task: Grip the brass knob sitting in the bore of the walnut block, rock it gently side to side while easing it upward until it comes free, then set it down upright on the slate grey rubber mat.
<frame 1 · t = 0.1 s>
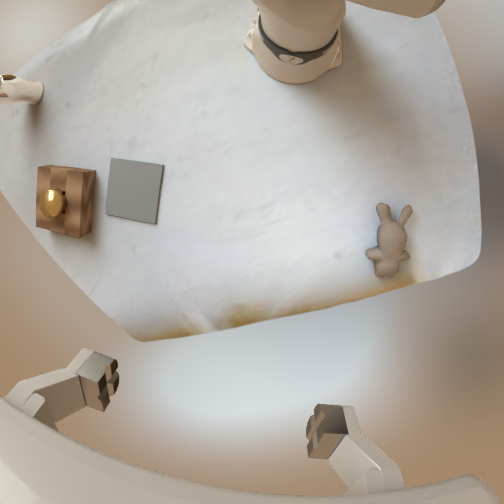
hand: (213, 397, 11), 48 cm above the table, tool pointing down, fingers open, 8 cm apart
bunny figurine: (385, 237, 57), on the table
brass knob: (59, 200, 54), in the walnut block
beer glass: (36, 93, 50), on the table
rubber mat: (133, 190, 57), on the table
walnut block: (69, 197, 58), on the table
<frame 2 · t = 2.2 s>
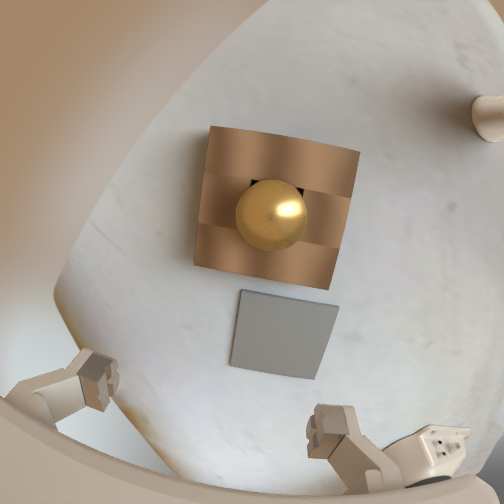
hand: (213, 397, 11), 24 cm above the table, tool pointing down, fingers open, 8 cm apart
brass knob: (273, 208, 29), in the walnut block
beer glass: (486, 119, 25), on the table
rubber mat: (281, 338, 38), on the table
walnut block: (275, 202, 32), on the table
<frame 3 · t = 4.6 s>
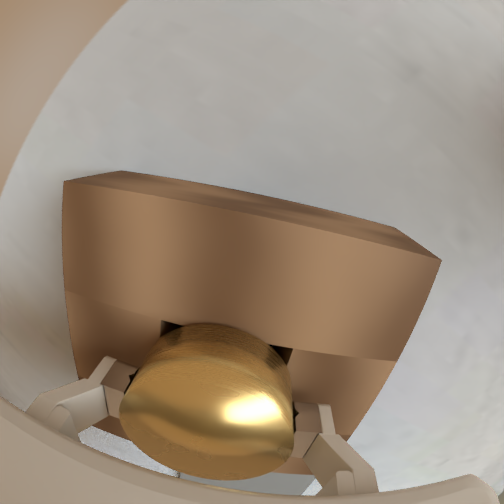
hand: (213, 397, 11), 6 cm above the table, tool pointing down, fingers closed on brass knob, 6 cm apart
brass knob: (220, 369, 12), in the walnut block, touching gripper
rubber mat: (246, 476, 21), on the table
walnut block: (231, 323, 16), on the table
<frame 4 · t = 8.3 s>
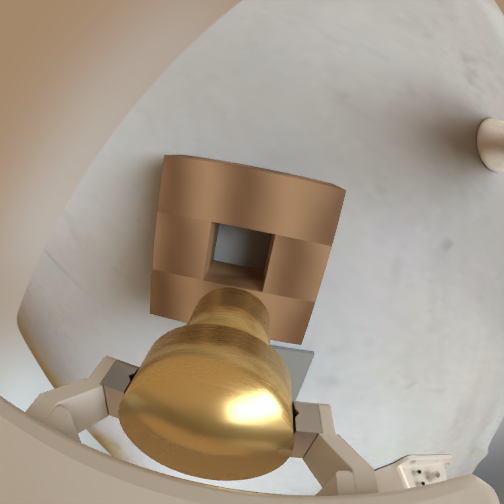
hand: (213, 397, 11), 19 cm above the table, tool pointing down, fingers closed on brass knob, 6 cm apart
brass knob: (219, 369, 12), point 17 cm above the table, touching gripper
beer glass: (492, 144, 23), on the table
rubber mat: (251, 381, 34), on the table
walnut block: (243, 241, 28), on the table
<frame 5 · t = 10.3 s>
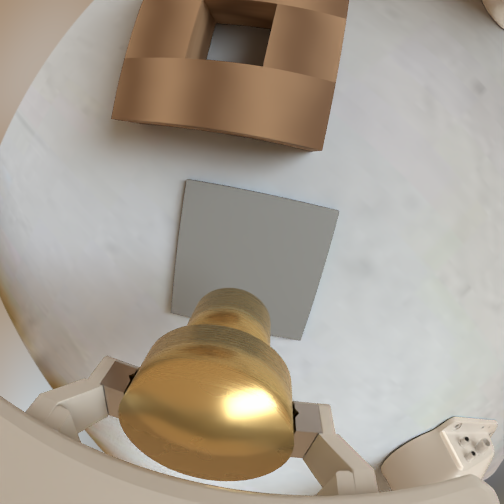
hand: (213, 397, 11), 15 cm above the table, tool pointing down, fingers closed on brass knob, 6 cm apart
brass knob: (220, 370, 12), point 13 cm above the table, touching gripper
beer glass: (499, 10, 14), on the table
rubber mat: (248, 264, 25), on the table
walnut block: (239, 51, 19), on the table
when the fingers open (8 cm above the table, at t = 12.0 s): brass knob drops 1 cm, resting on rubber mat.
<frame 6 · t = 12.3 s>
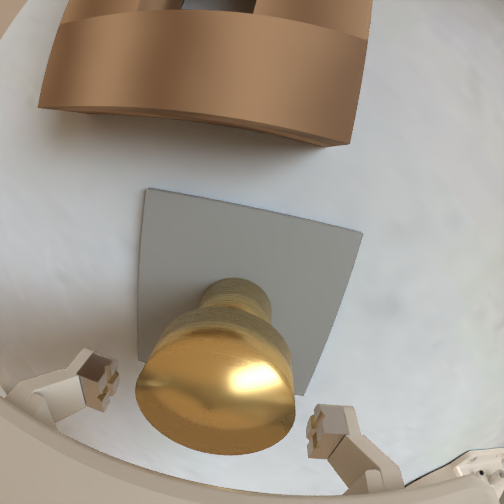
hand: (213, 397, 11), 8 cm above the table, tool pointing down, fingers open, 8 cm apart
brass knob: (226, 351, 13), on the rubber mat
rubber mat: (234, 305, 18), on the table
walnut block: (222, 10, 12), on the table
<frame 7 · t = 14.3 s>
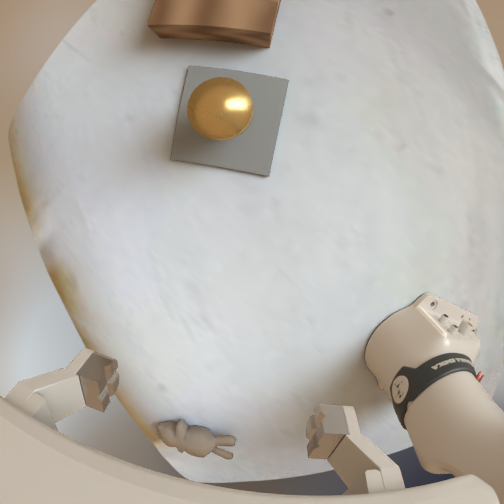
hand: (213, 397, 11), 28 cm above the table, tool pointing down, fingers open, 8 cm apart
bunny figurine: (197, 430, 50), on the table
brass knob: (224, 113, 28), on the rubber mat
rubber mat: (228, 118, 32), on the table
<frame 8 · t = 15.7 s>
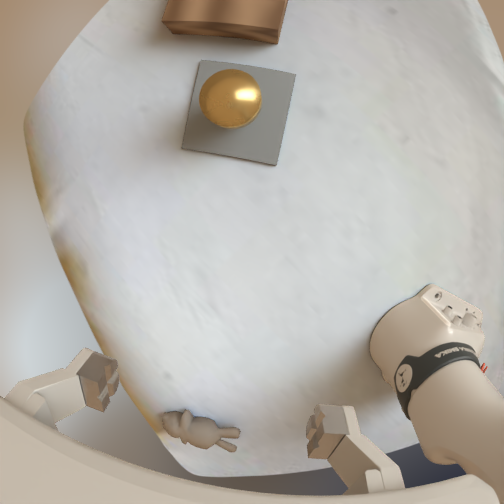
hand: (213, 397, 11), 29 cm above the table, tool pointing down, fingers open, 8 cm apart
bunny figurine: (202, 422, 51), on the table
brass knob: (234, 103, 29), on the rubber mat
rubber mat: (238, 109, 34), on the table
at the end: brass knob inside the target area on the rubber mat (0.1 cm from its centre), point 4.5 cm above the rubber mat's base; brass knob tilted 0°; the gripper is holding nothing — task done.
